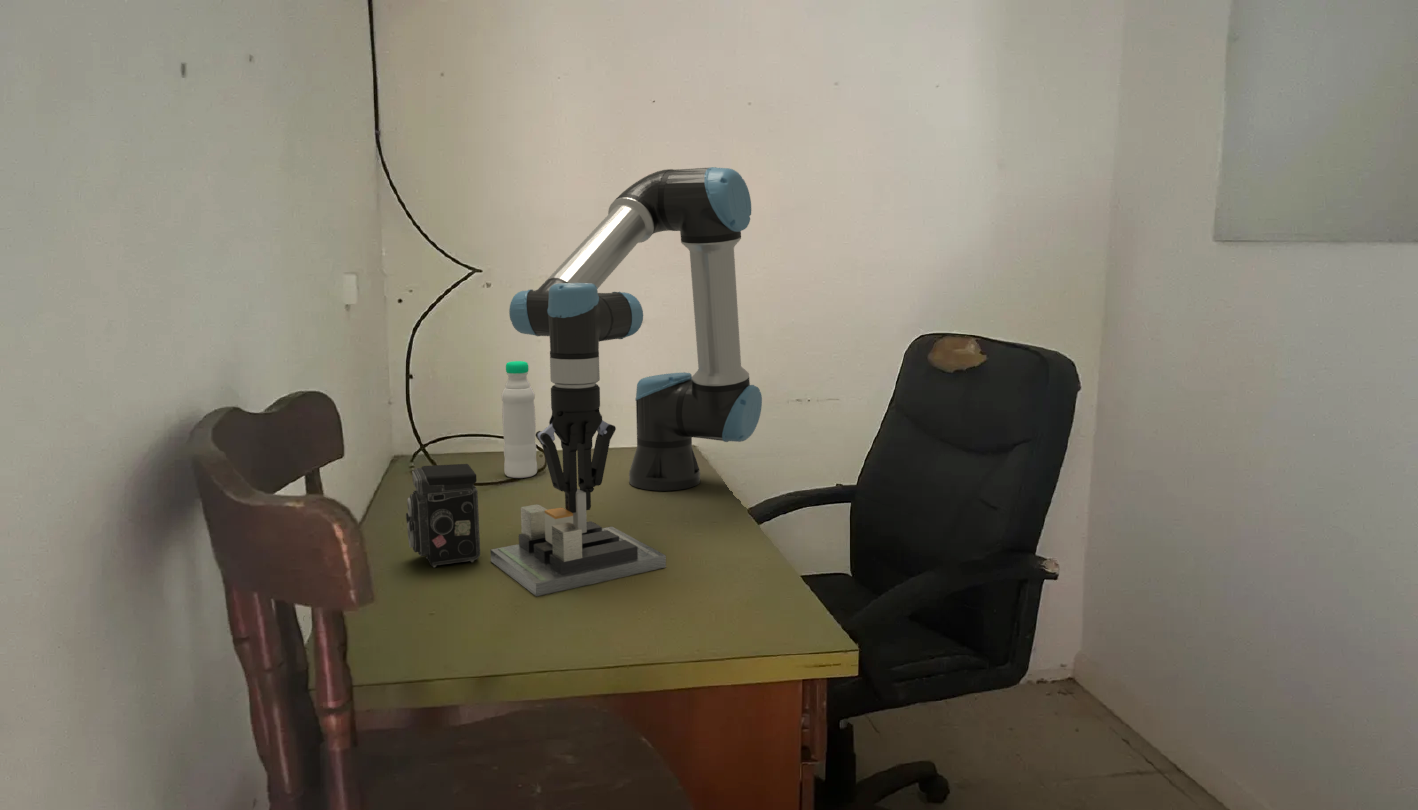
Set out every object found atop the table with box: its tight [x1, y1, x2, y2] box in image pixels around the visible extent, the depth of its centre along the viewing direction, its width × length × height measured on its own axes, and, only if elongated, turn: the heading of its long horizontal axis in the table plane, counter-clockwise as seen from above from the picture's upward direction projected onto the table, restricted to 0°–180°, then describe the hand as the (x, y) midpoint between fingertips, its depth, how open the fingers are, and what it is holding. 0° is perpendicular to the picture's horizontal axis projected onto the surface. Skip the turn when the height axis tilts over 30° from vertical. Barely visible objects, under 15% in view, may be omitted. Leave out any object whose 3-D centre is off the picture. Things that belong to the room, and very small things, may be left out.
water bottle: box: [501, 360, 538, 479], centre depth 204 cm, size 7×7×25 cm
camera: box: [405, 463, 481, 568], centre depth 151 cm, size 10×10×15 cm
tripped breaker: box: [545, 507, 573, 544], centre depth 147 cm, size 3×4×5 cm
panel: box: [490, 504, 667, 597], centre depth 149 cm, size 22×18×8 cm
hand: (578, 530), depth 149 cm, fingers closed
